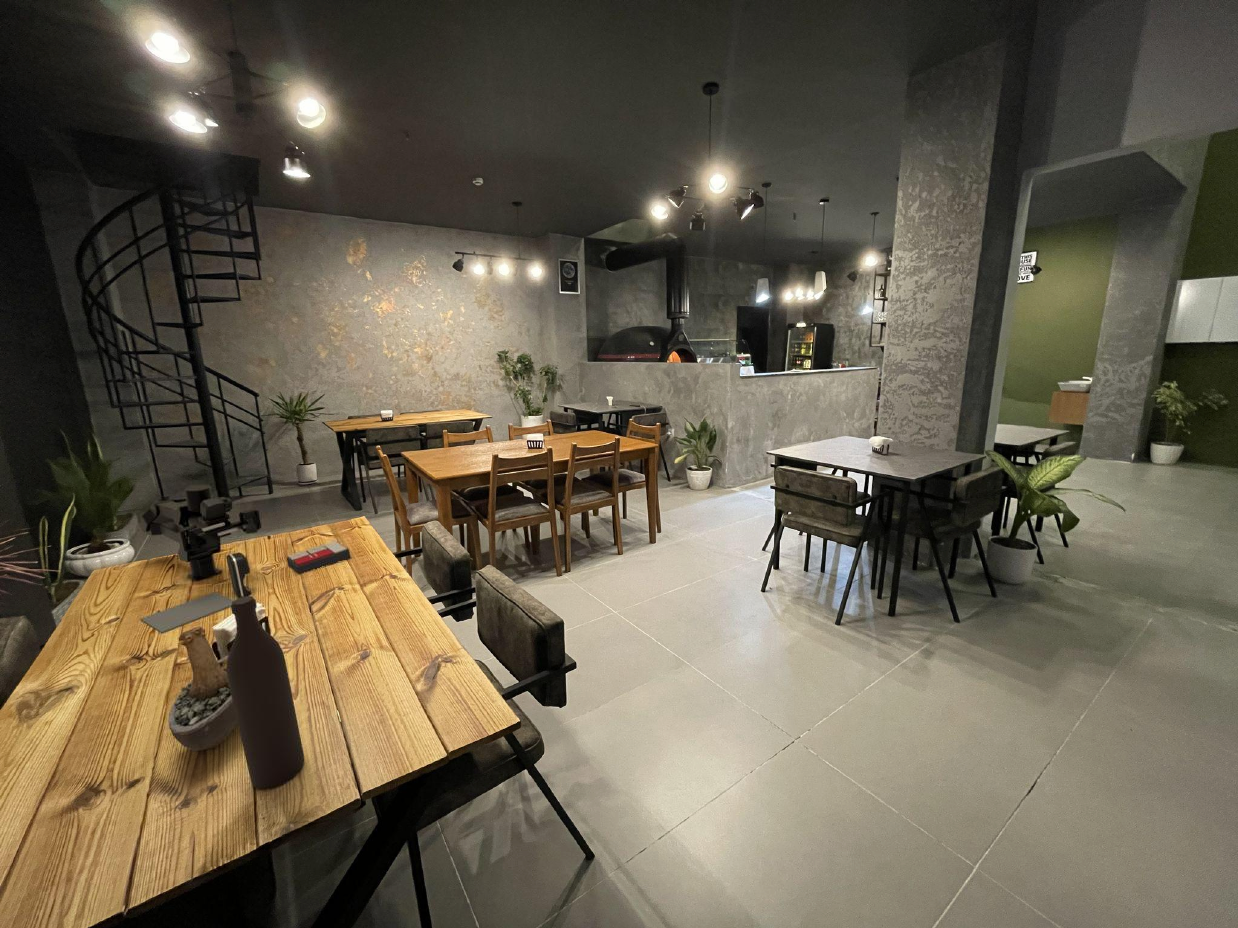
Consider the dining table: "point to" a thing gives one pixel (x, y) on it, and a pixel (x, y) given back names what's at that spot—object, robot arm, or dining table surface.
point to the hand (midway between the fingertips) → (237, 536)
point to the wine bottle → (263, 701)
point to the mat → (187, 612)
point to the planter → (203, 697)
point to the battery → (238, 573)
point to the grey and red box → (318, 557)
